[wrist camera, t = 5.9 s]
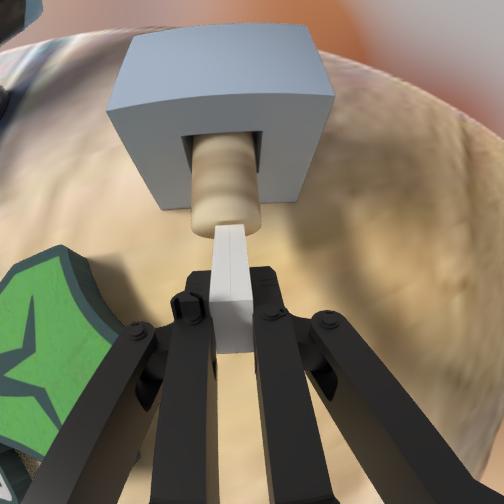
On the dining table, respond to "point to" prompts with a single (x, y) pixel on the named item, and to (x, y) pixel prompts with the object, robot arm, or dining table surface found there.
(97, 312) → the emblem
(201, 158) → the beige long cylinder
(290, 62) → the grey holed block
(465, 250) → the dining table surface
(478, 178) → the dining table surface
